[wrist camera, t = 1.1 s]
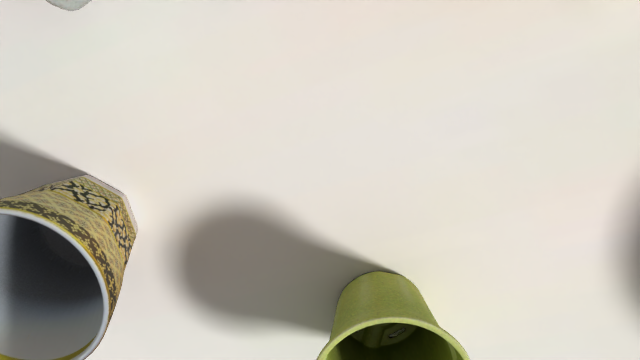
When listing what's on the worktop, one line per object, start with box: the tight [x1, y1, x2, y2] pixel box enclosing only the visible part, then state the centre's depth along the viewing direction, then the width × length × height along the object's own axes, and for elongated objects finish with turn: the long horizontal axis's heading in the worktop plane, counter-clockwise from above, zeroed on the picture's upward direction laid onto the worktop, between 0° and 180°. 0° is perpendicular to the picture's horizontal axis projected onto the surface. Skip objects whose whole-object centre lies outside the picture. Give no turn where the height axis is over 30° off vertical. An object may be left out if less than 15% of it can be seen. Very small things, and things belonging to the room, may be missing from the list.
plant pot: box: [317, 271, 470, 360], centre depth 38 cm, size 9×9×9 cm
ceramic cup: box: [0, 175, 138, 360], centre depth 36 cm, size 13×10×10 cm
